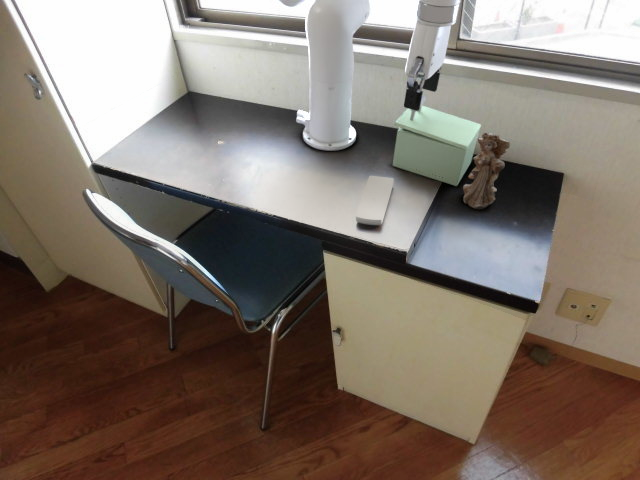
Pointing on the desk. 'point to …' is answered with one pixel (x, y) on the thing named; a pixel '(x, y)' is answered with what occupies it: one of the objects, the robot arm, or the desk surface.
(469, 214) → the desk surface
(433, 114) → the lid
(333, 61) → the robot arm
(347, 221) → the desk surface
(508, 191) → the desk surface
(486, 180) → the figurine
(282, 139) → the desk surface
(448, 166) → the chest
